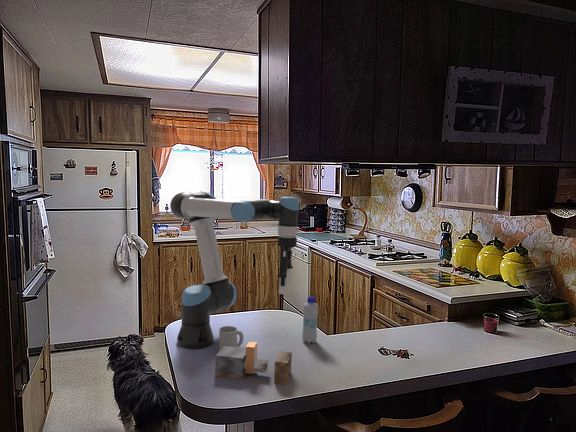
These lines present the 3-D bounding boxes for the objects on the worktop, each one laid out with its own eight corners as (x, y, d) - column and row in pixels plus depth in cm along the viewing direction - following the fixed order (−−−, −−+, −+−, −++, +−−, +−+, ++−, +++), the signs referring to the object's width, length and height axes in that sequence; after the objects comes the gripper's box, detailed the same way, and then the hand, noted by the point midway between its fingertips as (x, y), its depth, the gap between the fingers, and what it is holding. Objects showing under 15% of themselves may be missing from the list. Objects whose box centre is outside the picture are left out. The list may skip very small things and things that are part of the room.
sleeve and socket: (215, 375, 154) (215, 355, 153) (223, 364, 163) (223, 345, 162) (286, 384, 149) (287, 363, 149) (291, 372, 158) (291, 352, 157)
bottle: (317, 339, 191) (319, 295, 189) (316, 345, 184) (318, 299, 182) (302, 338, 191) (303, 294, 189) (301, 344, 185) (302, 298, 183)
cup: (217, 347, 178) (217, 327, 177) (241, 345, 181) (241, 324, 180) (220, 355, 171) (221, 333, 170) (245, 352, 174) (246, 330, 173)
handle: (217, 369, 156) (217, 343, 155) (221, 363, 160) (221, 338, 159) (265, 375, 153) (266, 348, 152) (268, 369, 157) (269, 343, 156)
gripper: (293, 242, 156) (290, 299, 159) (299, 232, 181) (297, 281, 183) (273, 240, 157) (270, 297, 159) (282, 231, 182) (279, 280, 184)
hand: (284, 289), depth 171 cm, fingers open, 13 cm apart
